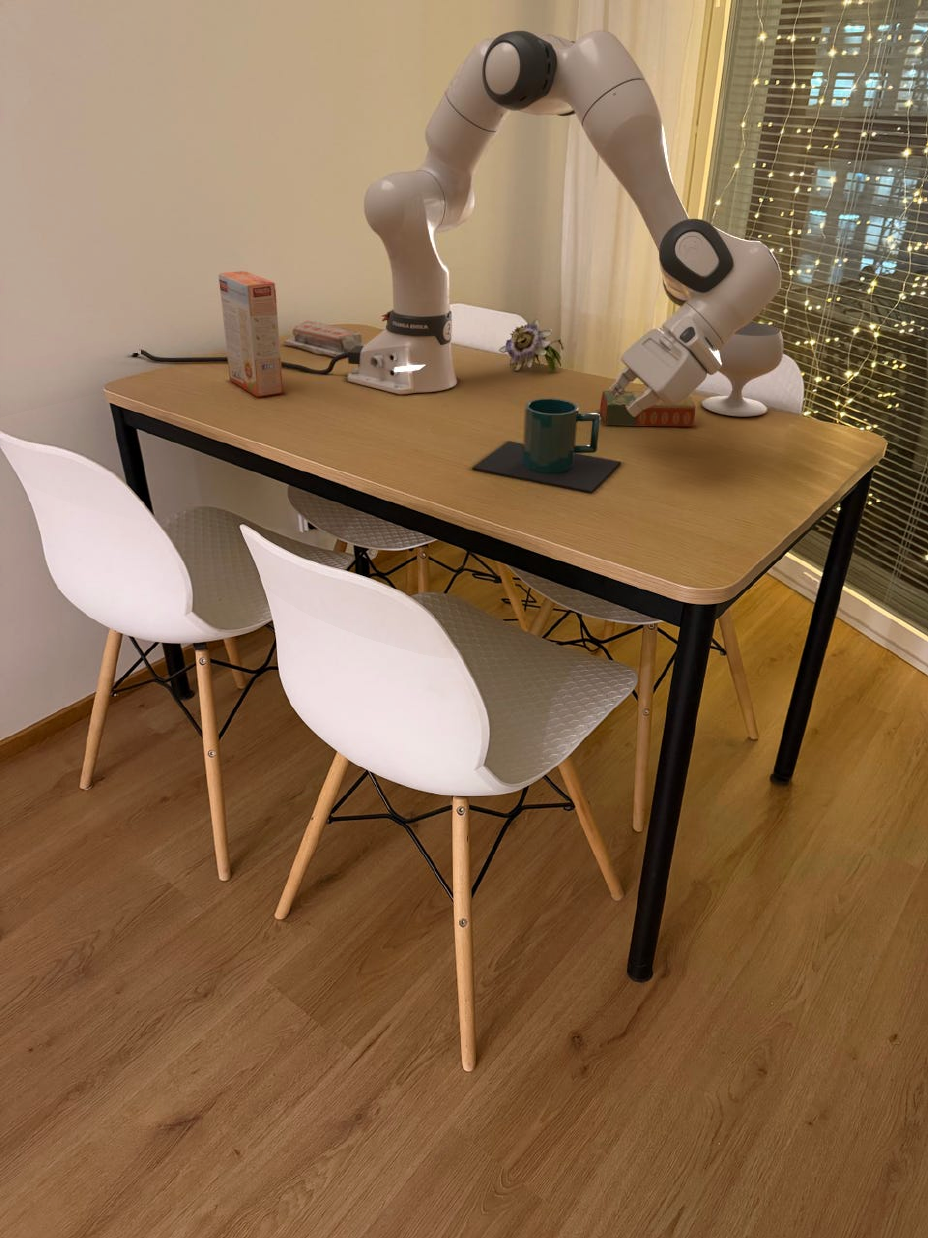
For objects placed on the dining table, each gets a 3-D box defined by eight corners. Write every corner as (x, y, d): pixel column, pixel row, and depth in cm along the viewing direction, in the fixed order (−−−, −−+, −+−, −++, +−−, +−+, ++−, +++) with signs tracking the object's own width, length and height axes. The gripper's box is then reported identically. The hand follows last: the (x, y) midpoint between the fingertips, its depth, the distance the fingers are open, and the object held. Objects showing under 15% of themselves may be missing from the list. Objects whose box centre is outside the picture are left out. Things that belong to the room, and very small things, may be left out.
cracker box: (285, 393, 177) (276, 281, 167) (256, 398, 174) (245, 284, 164) (256, 376, 187) (246, 269, 176) (228, 380, 184) (216, 271, 173)
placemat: (472, 469, 145) (472, 467, 144) (508, 443, 155) (508, 440, 155) (591, 493, 137) (591, 490, 137) (620, 463, 148) (620, 461, 148)
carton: (693, 428, 164) (696, 404, 162) (604, 425, 164) (606, 402, 162) (685, 413, 171) (688, 390, 169) (599, 411, 171) (601, 388, 169)
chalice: (727, 423, 166) (741, 340, 159) (682, 401, 177) (693, 322, 170) (787, 415, 171) (804, 334, 164) (740, 394, 182) (753, 317, 175)
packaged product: (369, 329, 203) (336, 337, 197) (369, 351, 206) (337, 360, 199) (314, 316, 213) (281, 324, 206) (315, 337, 216) (283, 345, 209)
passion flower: (518, 395, 197) (487, 347, 194) (540, 374, 204) (511, 328, 201) (556, 374, 189) (525, 323, 186) (578, 353, 196) (548, 304, 193)
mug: (527, 474, 142) (530, 415, 137) (518, 455, 149) (521, 398, 144) (602, 472, 144) (607, 413, 139) (589, 453, 151) (594, 397, 146)
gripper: (655, 309, 146) (590, 371, 150) (701, 340, 129) (626, 409, 132) (678, 336, 149) (614, 397, 153) (725, 371, 132) (652, 438, 135)
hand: (620, 403), depth 142 cm, fingers open, 8 cm apart
